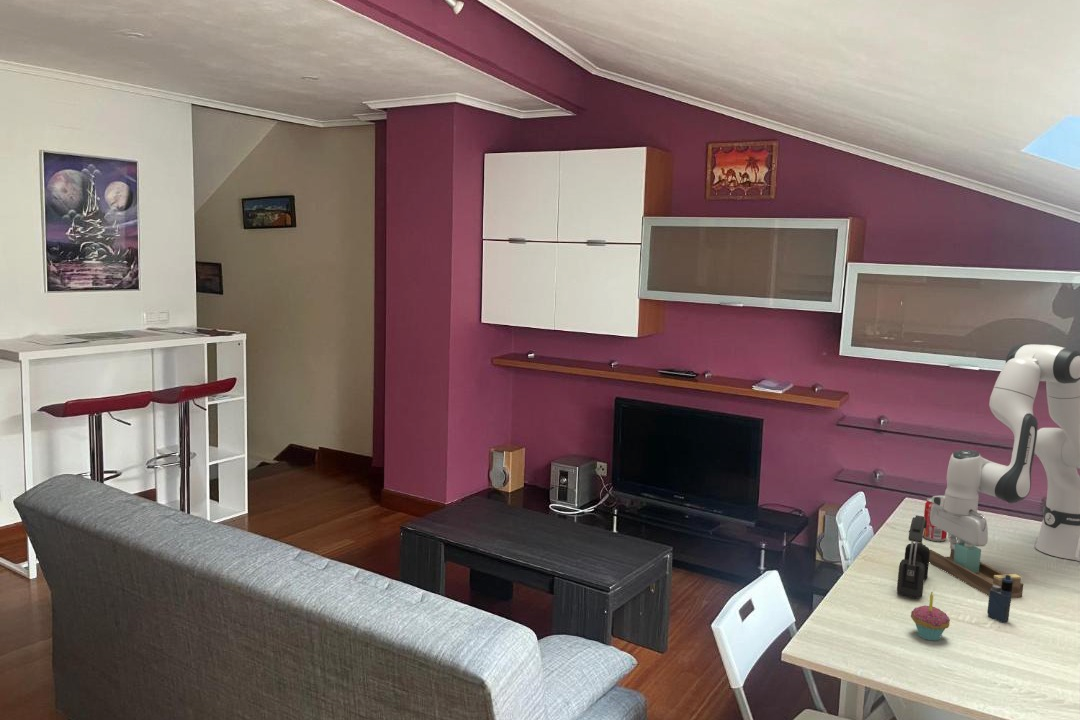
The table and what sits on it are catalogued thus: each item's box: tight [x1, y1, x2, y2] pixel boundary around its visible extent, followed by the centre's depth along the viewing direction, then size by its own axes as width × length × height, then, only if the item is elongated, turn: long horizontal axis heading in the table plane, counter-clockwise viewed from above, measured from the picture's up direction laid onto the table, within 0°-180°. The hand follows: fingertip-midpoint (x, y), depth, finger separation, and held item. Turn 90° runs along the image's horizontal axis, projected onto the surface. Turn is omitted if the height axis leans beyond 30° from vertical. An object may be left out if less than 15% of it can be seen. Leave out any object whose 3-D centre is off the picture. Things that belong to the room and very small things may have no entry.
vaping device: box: [987, 574, 1013, 623], centre depth 207 cm, size 3×5×12 cm, turn 27°
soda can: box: [923, 497, 948, 543], centre depth 267 cm, size 7×7×13 cm
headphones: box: [896, 514, 931, 599], centre depth 226 cm, size 22×6×20 cm, turn 150°
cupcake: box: [910, 592, 951, 642], centre depth 196 cm, size 9×8×12 cm
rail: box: [929, 548, 1024, 599], centre depth 234 cm, size 9×27×6 cm, turn 12°
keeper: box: [953, 542, 982, 573], centre depth 236 cm, size 5×5×8 cm
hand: (955, 550), depth 241 cm, fingers closed
